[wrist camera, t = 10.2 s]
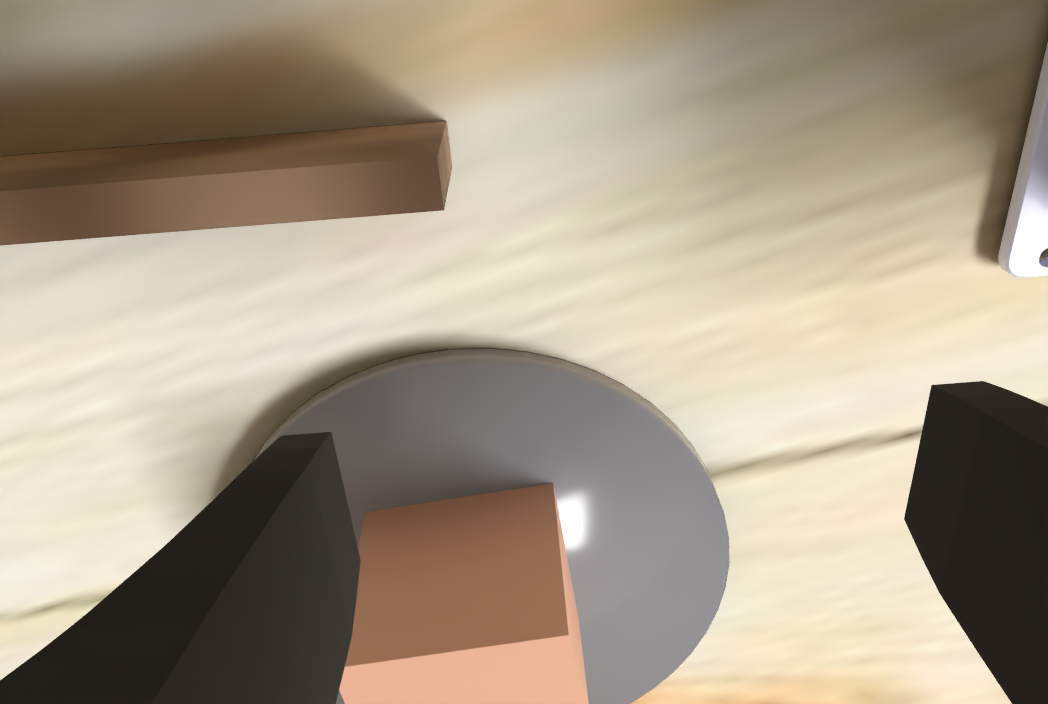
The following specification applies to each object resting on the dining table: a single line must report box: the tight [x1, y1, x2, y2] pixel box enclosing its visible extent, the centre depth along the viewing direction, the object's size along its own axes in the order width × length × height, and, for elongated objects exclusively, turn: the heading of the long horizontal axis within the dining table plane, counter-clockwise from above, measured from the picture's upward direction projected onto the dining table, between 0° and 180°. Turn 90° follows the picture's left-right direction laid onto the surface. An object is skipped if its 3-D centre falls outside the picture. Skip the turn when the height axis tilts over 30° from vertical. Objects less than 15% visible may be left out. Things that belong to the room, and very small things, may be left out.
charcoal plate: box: [253, 348, 729, 704], centre depth 22 cm, size 14×14×1 cm
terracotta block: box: [339, 483, 589, 704], centre depth 19 cm, size 5×5×5 cm
